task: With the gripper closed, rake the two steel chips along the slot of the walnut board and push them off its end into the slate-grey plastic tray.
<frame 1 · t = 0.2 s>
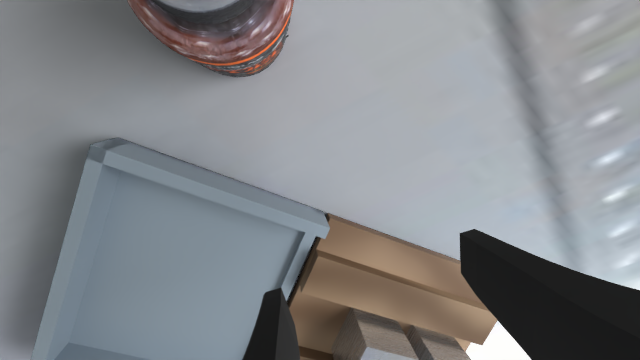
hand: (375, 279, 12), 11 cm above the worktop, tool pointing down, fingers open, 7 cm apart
slot board: (376, 328, 26), on the worktop
chip tray: (190, 277, 22), on the worktop
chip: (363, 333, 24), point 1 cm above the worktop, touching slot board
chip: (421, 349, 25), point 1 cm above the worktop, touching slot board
supplement bottle: (237, 27, 19), on the worktop
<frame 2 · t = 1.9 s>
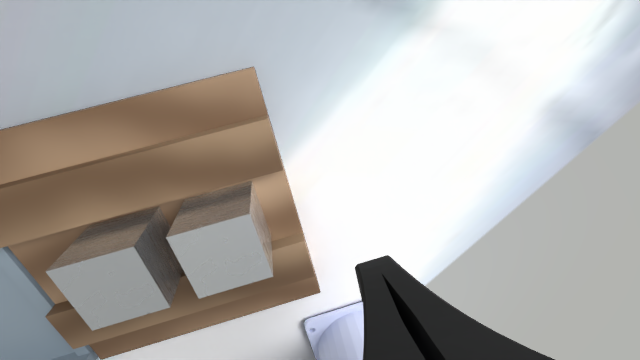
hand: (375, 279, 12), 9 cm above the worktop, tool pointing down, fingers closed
slot board: (170, 227, 20), on the worktop
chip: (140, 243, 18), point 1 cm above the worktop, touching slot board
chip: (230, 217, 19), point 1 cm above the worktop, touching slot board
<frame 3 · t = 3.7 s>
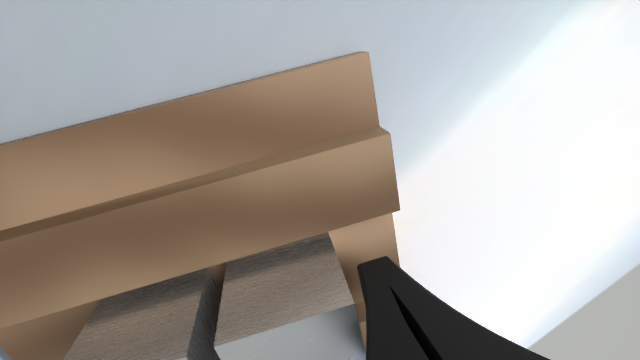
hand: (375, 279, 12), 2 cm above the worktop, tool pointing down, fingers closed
slot board: (218, 285, 14), on the worktop
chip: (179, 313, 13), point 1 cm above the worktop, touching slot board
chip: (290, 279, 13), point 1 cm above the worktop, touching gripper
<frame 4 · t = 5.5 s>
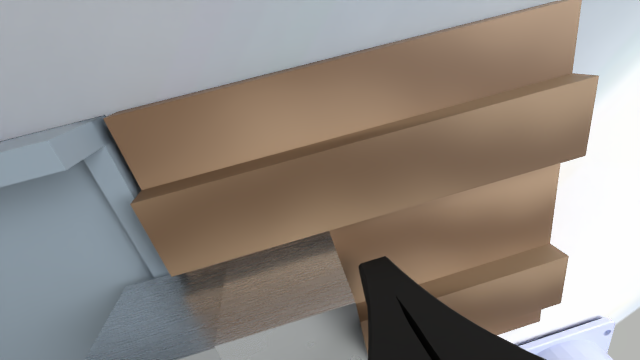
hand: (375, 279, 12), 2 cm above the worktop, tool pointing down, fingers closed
slot board: (378, 237, 14), on the worktop
chip tray: (35, 339, 13), on the worktop
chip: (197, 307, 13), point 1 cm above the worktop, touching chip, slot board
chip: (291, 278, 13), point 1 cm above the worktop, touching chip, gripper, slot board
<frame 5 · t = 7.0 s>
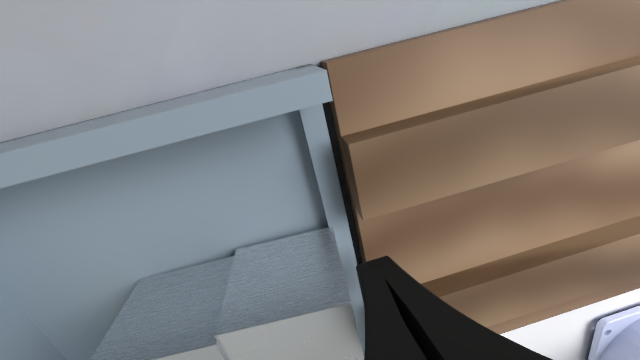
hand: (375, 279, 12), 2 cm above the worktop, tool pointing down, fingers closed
slot board: (518, 195, 15), on the worktop
chip tray: (199, 290, 14), on the worktop
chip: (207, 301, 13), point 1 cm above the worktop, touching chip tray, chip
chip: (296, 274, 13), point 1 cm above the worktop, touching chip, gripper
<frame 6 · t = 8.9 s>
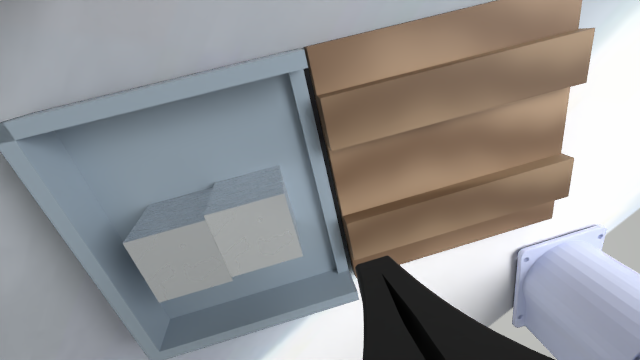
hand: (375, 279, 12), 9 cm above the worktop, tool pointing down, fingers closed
slot board: (445, 145, 21), on the worktop
chip tray: (221, 207, 20), on the worktop
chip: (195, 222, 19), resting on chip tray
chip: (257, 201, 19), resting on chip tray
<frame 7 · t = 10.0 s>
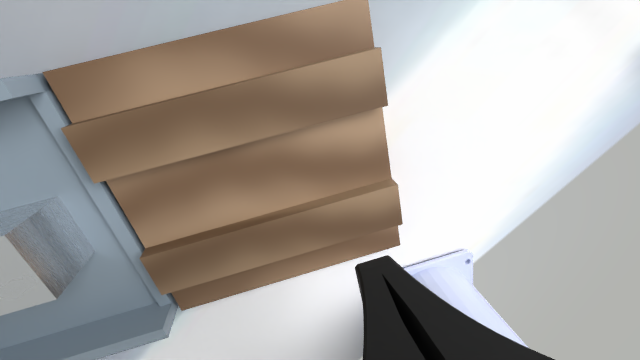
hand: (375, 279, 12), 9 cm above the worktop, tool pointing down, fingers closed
slot board: (260, 171, 19), on the worktop
chip tray: (6, 240, 18), on the worktop
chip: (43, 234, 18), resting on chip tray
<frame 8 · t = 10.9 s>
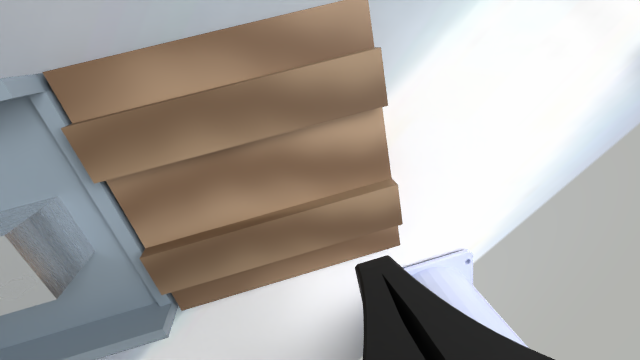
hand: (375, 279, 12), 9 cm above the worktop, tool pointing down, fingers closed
slot board: (260, 171, 19), on the worktop
chip tray: (6, 240, 18), on the worktop
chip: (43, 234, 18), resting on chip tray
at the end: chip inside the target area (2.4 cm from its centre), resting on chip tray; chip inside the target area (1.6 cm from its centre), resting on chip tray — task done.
